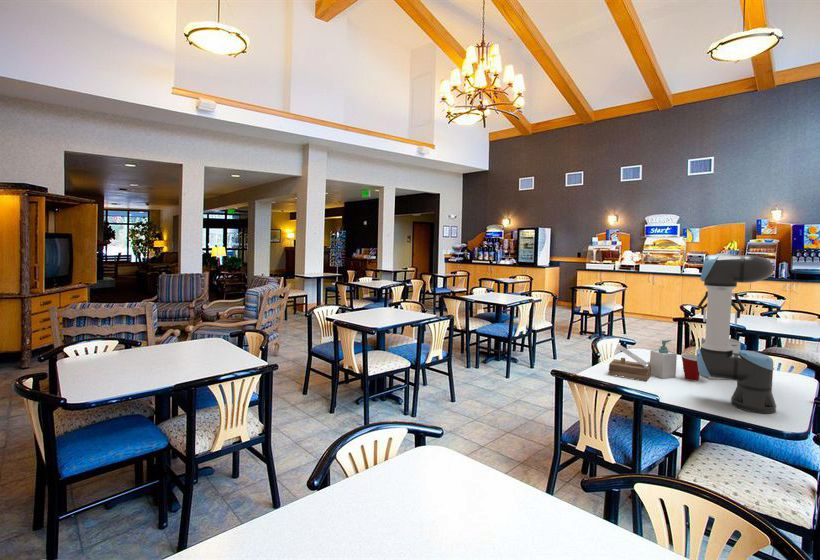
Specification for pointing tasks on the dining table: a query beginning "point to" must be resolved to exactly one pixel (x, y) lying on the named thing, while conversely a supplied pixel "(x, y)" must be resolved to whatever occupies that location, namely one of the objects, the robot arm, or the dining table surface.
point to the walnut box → (630, 369)
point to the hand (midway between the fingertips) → (719, 322)
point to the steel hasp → (633, 356)
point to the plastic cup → (690, 366)
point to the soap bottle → (663, 362)
